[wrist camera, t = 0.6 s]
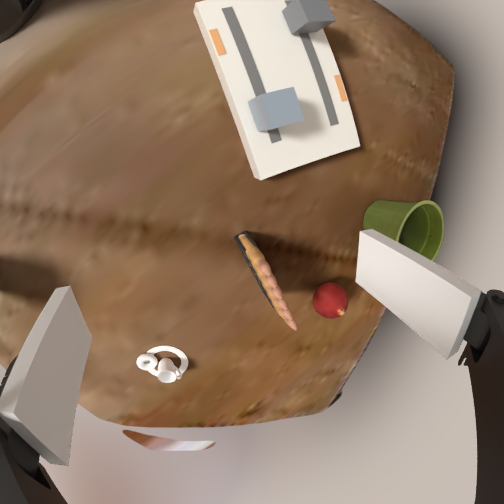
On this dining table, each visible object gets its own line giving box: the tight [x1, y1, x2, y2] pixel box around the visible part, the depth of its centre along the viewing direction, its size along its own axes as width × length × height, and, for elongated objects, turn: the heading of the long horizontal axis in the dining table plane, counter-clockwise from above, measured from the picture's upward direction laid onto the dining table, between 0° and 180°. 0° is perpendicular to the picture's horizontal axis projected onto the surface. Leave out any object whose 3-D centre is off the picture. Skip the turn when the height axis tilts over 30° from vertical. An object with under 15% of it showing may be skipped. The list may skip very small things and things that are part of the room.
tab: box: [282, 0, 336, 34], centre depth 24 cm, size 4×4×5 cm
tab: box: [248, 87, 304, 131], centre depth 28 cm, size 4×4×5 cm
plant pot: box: [363, 200, 444, 261], centre depth 40 cm, size 12×12×11 cm
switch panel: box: [194, 0, 360, 180], centre depth 31 cm, size 26×16×3 cm, turn 19°
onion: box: [313, 282, 348, 319], centre depth 43 cm, size 6×6×8 cm
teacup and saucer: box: [137, 346, 188, 383], centre depth 42 cm, size 9×8×4 cm
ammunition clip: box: [234, 231, 298, 330], centre depth 36 cm, size 11×2×12 cm, turn 24°
